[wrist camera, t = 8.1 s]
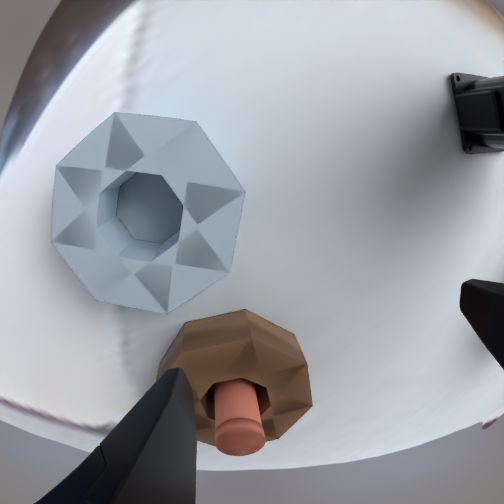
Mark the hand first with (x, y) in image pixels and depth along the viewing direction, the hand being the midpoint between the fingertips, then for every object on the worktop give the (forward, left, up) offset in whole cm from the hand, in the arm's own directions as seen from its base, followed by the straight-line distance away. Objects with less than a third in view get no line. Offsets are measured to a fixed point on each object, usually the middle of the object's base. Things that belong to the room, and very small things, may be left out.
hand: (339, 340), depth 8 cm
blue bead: (+7, -4, -12) cm, 14 cm away
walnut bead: (+5, +9, -12) cm, 16 cm away
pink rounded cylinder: (+5, +9, -12) cm, 16 cm away
